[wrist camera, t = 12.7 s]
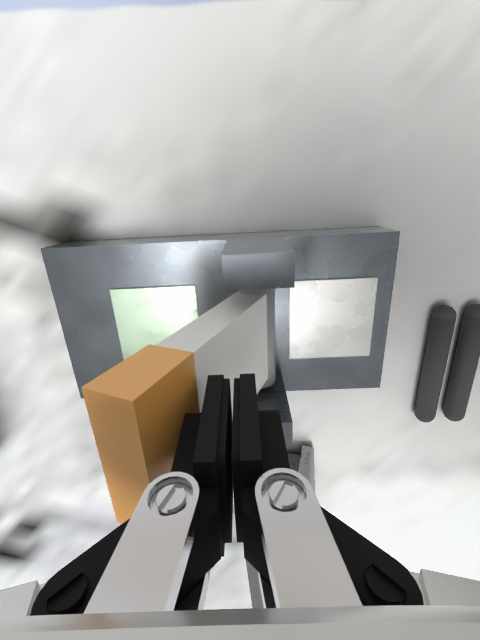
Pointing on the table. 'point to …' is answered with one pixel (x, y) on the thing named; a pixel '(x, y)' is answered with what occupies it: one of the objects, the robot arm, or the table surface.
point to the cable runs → (473, 343)
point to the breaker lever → (174, 390)
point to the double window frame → (222, 282)
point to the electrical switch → (306, 468)
